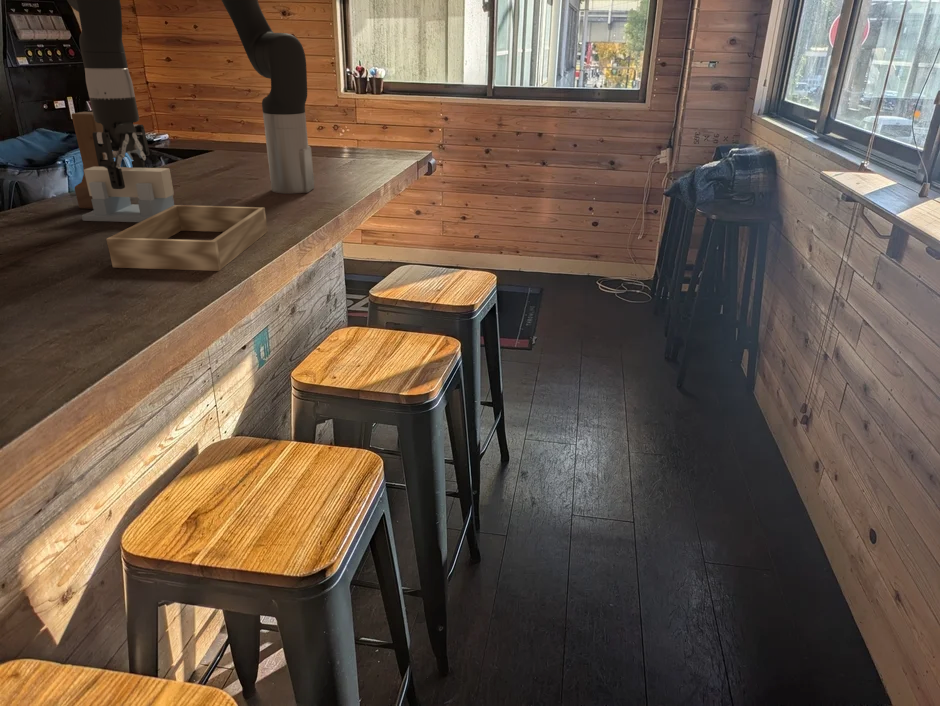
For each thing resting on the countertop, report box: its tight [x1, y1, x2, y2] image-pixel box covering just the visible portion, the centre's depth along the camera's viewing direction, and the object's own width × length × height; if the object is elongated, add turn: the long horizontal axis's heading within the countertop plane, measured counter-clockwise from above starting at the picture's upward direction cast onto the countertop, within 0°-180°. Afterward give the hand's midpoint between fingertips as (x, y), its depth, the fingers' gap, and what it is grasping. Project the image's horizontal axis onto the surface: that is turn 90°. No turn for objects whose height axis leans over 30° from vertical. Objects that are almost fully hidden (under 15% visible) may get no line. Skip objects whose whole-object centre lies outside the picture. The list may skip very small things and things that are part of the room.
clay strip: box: [83, 166, 175, 198], centre depth 126 cm, size 15×4×5 cm, turn 87°
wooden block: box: [71, 111, 105, 210], centre depth 133 cm, size 9×4×18 cm, turn 177°
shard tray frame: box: [105, 204, 268, 272], centre depth 109 cm, size 17×23×4 cm
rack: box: [81, 182, 175, 223], centre depth 127 cm, size 16×10×7 cm, turn 87°
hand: (130, 184), depth 126 cm, fingers open, 8 cm apart
